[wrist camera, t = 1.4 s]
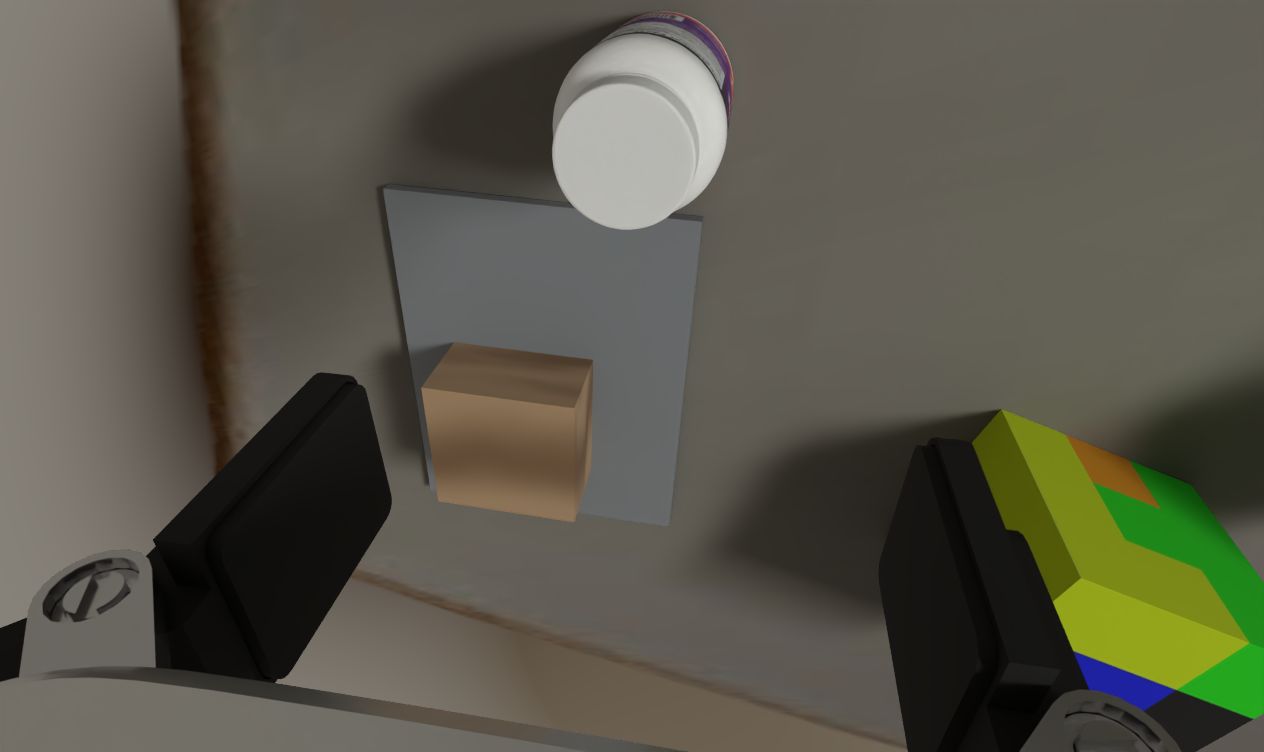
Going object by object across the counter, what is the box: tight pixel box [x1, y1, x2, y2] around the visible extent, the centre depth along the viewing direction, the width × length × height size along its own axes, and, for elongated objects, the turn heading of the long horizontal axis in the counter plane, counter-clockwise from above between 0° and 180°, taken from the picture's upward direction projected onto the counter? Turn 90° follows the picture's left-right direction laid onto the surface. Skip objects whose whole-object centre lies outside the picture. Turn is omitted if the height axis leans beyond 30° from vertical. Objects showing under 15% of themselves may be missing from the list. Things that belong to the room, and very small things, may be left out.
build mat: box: [383, 184, 703, 527], centre depth 35 cm, size 18×14×1 cm
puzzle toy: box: [972, 409, 1264, 752], centre depth 31 cm, size 10×10×10 cm
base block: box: [421, 342, 593, 522], centre depth 34 cm, size 7×7×4 cm
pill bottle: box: [552, 11, 734, 230], centre depth 23 cm, size 5×5×10 cm
